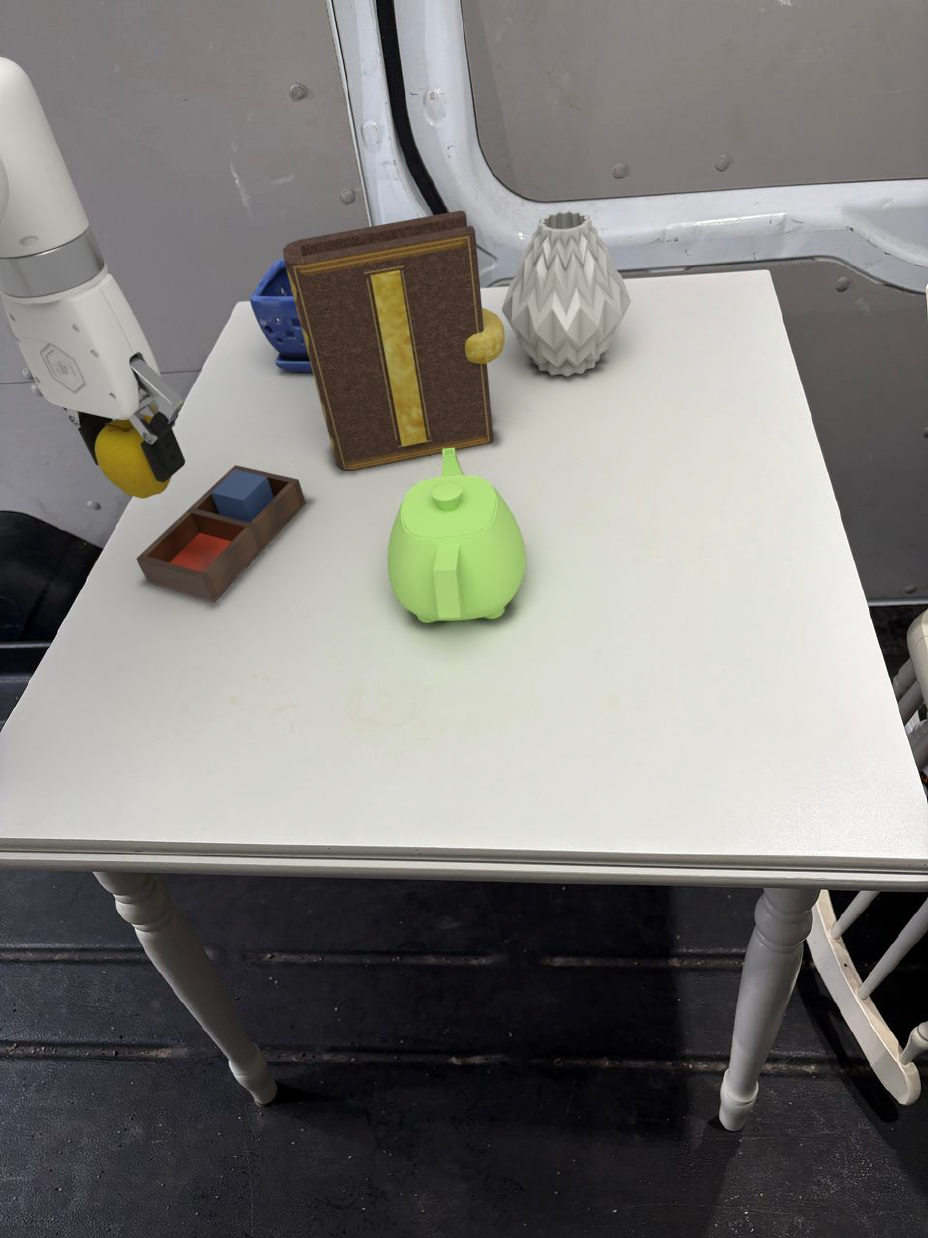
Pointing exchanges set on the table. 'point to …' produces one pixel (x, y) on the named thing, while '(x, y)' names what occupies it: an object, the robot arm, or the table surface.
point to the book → (397, 338)
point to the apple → (126, 459)
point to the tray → (217, 541)
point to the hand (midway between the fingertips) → (140, 463)
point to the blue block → (242, 495)
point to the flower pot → (280, 319)
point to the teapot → (455, 548)
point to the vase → (566, 295)
